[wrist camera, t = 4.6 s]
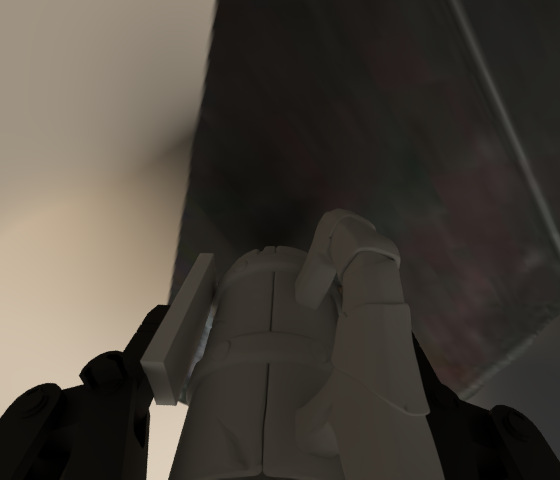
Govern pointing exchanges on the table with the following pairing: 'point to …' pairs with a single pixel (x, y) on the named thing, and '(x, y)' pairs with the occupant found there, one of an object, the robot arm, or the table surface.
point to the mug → (310, 368)
